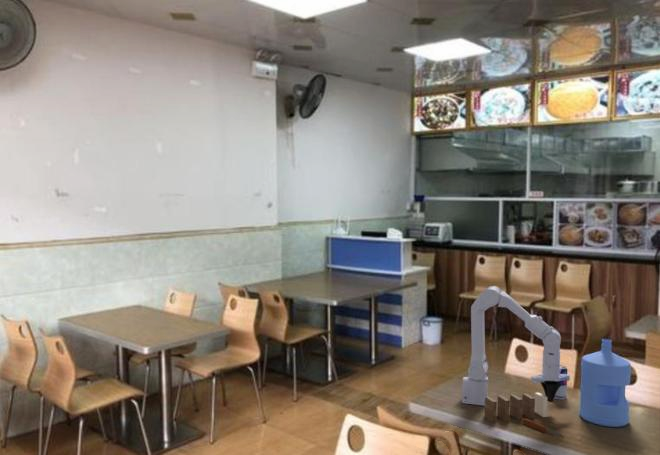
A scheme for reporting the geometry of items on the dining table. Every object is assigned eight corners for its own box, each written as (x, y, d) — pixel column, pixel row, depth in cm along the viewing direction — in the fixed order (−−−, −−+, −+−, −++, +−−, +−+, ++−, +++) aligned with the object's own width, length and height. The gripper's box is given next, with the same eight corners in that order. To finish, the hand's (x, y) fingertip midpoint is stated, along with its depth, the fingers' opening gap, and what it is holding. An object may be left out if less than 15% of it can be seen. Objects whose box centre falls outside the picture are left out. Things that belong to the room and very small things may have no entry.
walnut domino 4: (530, 418, 193) (531, 398, 193) (521, 412, 198) (522, 393, 197) (534, 417, 193) (535, 398, 193) (525, 412, 198) (526, 393, 198)
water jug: (569, 414, 197) (572, 336, 196) (601, 408, 204) (603, 333, 202) (606, 430, 183) (609, 347, 182) (639, 424, 189) (642, 343, 188)
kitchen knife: (521, 424, 188) (521, 418, 188) (524, 423, 189) (524, 417, 189) (562, 441, 175) (563, 435, 175) (565, 440, 176) (565, 434, 176)
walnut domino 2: (505, 420, 190) (505, 400, 190) (497, 415, 195) (497, 395, 195) (509, 420, 191) (509, 400, 191) (501, 414, 196) (501, 395, 195)
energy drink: (567, 400, 211) (569, 369, 211) (553, 399, 212) (554, 368, 212) (564, 395, 216) (565, 365, 216) (550, 394, 218) (551, 364, 217)
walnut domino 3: (517, 419, 192) (518, 399, 191) (509, 414, 197) (510, 394, 196) (521, 419, 192) (522, 399, 192) (513, 413, 197) (514, 394, 197)
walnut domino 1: (492, 421, 189) (492, 401, 189) (484, 416, 194) (485, 396, 194) (496, 421, 190) (496, 401, 189) (488, 415, 194) (489, 396, 194)
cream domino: (542, 417, 194) (543, 397, 194) (534, 411, 199) (534, 392, 199) (546, 416, 195) (547, 397, 194) (538, 411, 199) (538, 392, 199)
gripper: (540, 368, 191) (538, 406, 192) (576, 365, 195) (574, 403, 195) (528, 362, 198) (526, 399, 199) (562, 360, 202) (561, 396, 202)
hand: (549, 401), depth 198 cm, fingers closed
